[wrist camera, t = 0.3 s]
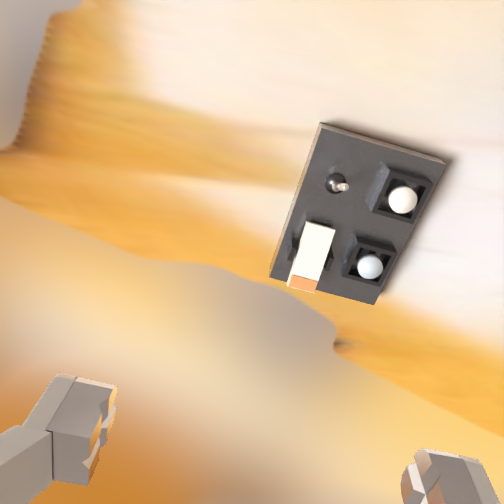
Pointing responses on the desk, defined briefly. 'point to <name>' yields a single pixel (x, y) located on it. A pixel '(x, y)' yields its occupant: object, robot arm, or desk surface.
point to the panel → (355, 208)
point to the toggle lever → (340, 186)
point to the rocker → (310, 257)
